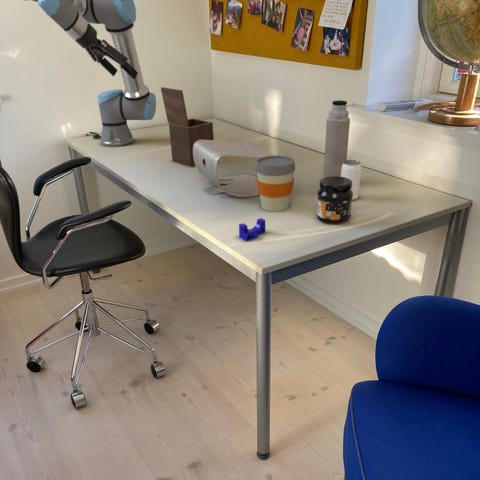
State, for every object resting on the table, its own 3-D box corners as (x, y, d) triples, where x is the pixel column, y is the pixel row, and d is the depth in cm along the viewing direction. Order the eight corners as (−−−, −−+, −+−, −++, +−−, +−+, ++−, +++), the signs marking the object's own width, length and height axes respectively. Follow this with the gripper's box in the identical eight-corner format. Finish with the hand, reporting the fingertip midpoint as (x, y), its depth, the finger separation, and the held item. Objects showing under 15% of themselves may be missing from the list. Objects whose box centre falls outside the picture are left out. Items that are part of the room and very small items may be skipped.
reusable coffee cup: (266, 215, 165) (266, 168, 157) (250, 203, 175) (249, 158, 167) (300, 209, 169) (302, 163, 161) (283, 197, 179) (283, 153, 171)
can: (354, 202, 173) (357, 166, 167) (336, 198, 176) (338, 163, 170) (361, 196, 178) (364, 161, 171) (343, 193, 181) (346, 158, 174)
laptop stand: (194, 182, 196) (191, 140, 187) (251, 173, 203) (250, 132, 195) (218, 203, 176) (216, 157, 168) (280, 192, 183) (281, 147, 175)
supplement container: (310, 221, 160) (312, 183, 153) (324, 210, 167) (326, 173, 161) (342, 227, 155) (346, 188, 149) (355, 216, 163) (359, 178, 156)
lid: (162, 87, 204) (160, 87, 204) (182, 90, 196) (180, 90, 196) (169, 122, 213) (167, 122, 212) (189, 126, 205) (187, 127, 204)
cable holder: (246, 241, 149) (245, 228, 147) (239, 237, 151) (238, 224, 149) (268, 234, 153) (268, 221, 150) (261, 230, 155) (261, 218, 153)
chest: (195, 154, 228) (192, 118, 220) (214, 160, 220) (212, 122, 212) (172, 161, 221) (168, 123, 213) (191, 166, 213) (188, 127, 205)
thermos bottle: (325, 178, 196) (330, 98, 181) (346, 179, 193) (353, 99, 178) (321, 184, 189) (325, 102, 174) (342, 186, 187) (349, 103, 172)
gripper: (106, 22, 168) (150, 68, 185) (68, 21, 183) (112, 63, 200) (94, 42, 168) (139, 86, 184) (58, 39, 183) (102, 80, 200)
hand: (125, 74), depth 192 cm, fingers open, 13 cm apart
